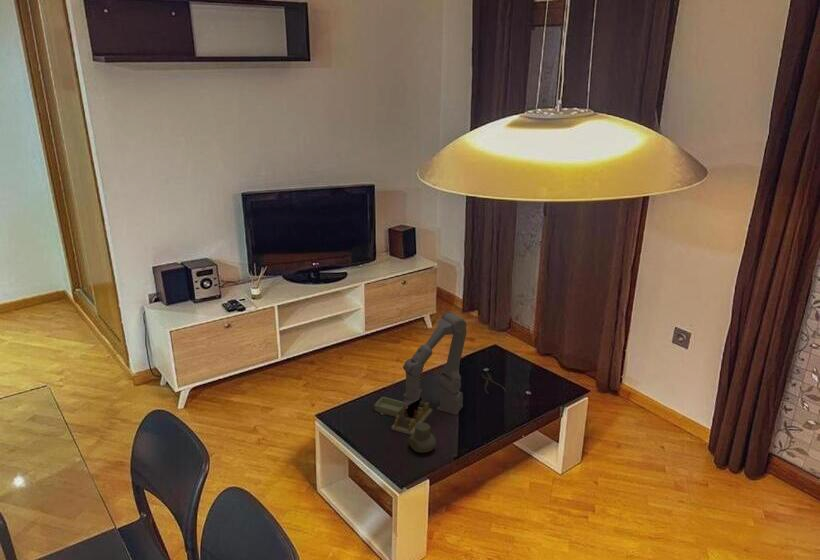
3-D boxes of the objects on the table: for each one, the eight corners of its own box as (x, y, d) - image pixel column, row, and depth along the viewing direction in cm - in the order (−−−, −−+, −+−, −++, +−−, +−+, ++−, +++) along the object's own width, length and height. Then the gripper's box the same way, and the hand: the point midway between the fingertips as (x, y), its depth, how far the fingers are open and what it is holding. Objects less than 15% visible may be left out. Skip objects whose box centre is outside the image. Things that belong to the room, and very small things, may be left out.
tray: (406, 408, 271) (406, 402, 270) (398, 417, 264) (398, 411, 263) (382, 402, 275) (382, 396, 274) (373, 411, 269) (373, 405, 268)
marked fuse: (421, 415, 261) (422, 409, 260) (419, 418, 259) (419, 412, 258) (405, 411, 264) (405, 405, 263) (402, 414, 262) (402, 408, 261)
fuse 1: (414, 424, 255) (415, 417, 255) (411, 427, 253) (412, 420, 252) (398, 419, 258) (398, 413, 258) (395, 422, 256) (395, 415, 255)
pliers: (490, 395, 281) (469, 375, 299) (489, 396, 282) (469, 376, 299) (508, 391, 285) (486, 371, 302) (508, 392, 285) (486, 373, 303)
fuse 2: (428, 408, 267) (429, 401, 266) (425, 410, 265) (426, 404, 264) (412, 403, 270) (413, 397, 270) (409, 406, 268) (410, 399, 267)
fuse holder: (432, 411, 269) (432, 402, 267) (412, 435, 252) (412, 426, 250) (412, 406, 273) (412, 397, 271) (391, 429, 256) (391, 420, 254)
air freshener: (438, 451, 242) (439, 430, 238) (421, 458, 238) (421, 436, 234) (423, 438, 250) (423, 416, 247) (406, 444, 246) (406, 422, 243)
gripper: (411, 377, 264) (411, 404, 269) (396, 392, 252) (396, 421, 257) (426, 380, 262) (425, 408, 266) (411, 396, 249) (411, 425, 254)
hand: (412, 415), depth 261 cm, fingers closed on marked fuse, 2 cm apart
